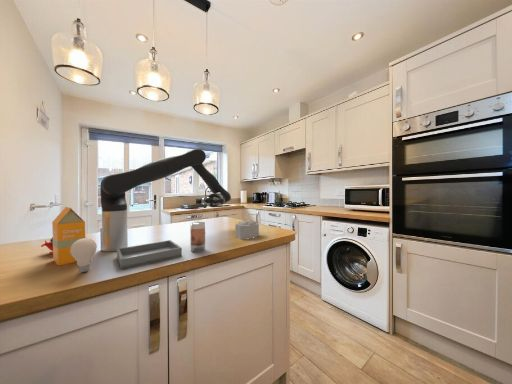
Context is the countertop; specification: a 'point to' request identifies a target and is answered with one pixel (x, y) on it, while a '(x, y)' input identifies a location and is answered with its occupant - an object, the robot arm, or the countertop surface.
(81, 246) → the light bulb
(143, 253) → the tote
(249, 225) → the grey rough block
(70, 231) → the orange juice
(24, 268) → the countertop surface
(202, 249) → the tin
